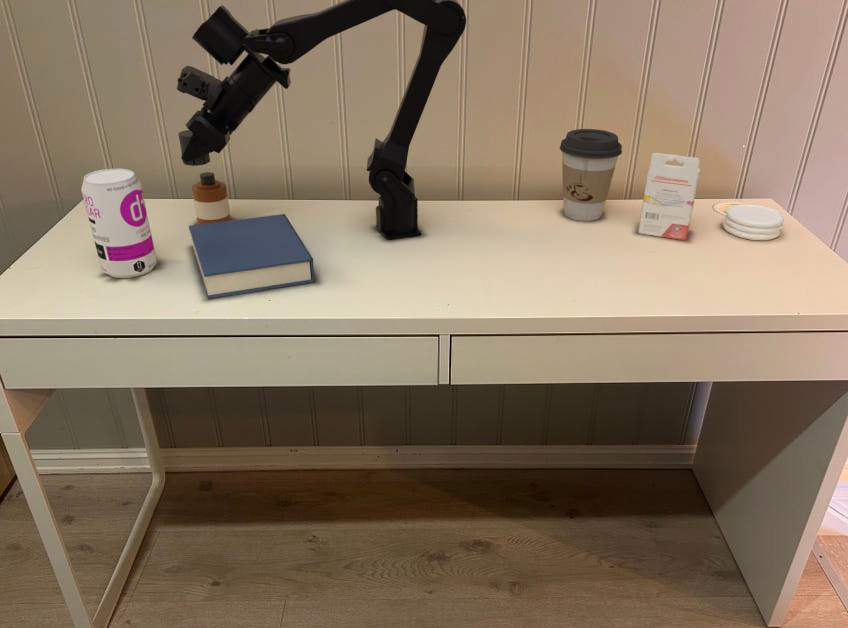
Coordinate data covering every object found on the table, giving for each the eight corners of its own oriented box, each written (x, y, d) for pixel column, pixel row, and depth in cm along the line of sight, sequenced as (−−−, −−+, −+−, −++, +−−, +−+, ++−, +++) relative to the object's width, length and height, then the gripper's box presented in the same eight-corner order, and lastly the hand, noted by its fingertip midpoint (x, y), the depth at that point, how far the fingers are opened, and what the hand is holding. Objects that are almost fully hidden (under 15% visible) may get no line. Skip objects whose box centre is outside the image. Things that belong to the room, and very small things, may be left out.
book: (286, 235, 128) (284, 213, 126) (315, 282, 113) (313, 258, 111) (192, 248, 123) (188, 225, 121) (208, 299, 108) (204, 274, 105)
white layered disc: (749, 244, 129) (754, 226, 127) (711, 225, 137) (715, 207, 135) (791, 236, 133) (797, 218, 131) (751, 218, 140) (756, 200, 138)
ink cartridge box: (688, 231, 134) (705, 151, 126) (685, 241, 130) (702, 159, 122) (641, 224, 136) (654, 145, 129) (636, 233, 132) (650, 152, 125)
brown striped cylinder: (228, 215, 136) (221, 167, 131) (233, 227, 131) (226, 177, 126) (195, 219, 134) (187, 171, 129) (199, 231, 129) (191, 181, 124)
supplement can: (168, 262, 118) (150, 171, 110) (134, 283, 111) (112, 187, 103) (127, 254, 120) (106, 164, 112) (90, 275, 114) (65, 180, 106)
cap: (205, 156, 125) (201, 128, 122) (212, 163, 122) (208, 134, 119) (180, 160, 123) (175, 131, 120) (186, 167, 120) (181, 137, 117)
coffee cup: (545, 219, 137) (553, 139, 130) (561, 200, 146) (569, 124, 138) (605, 229, 134) (617, 147, 126) (618, 209, 143) (629, 131, 135)
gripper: (216, 38, 121) (160, 107, 126) (189, 59, 105) (127, 136, 110) (269, 88, 126) (214, 152, 131) (251, 115, 110) (189, 187, 115)
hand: (187, 156), depth 122 cm, fingers closed on cap, 4 cm apart
